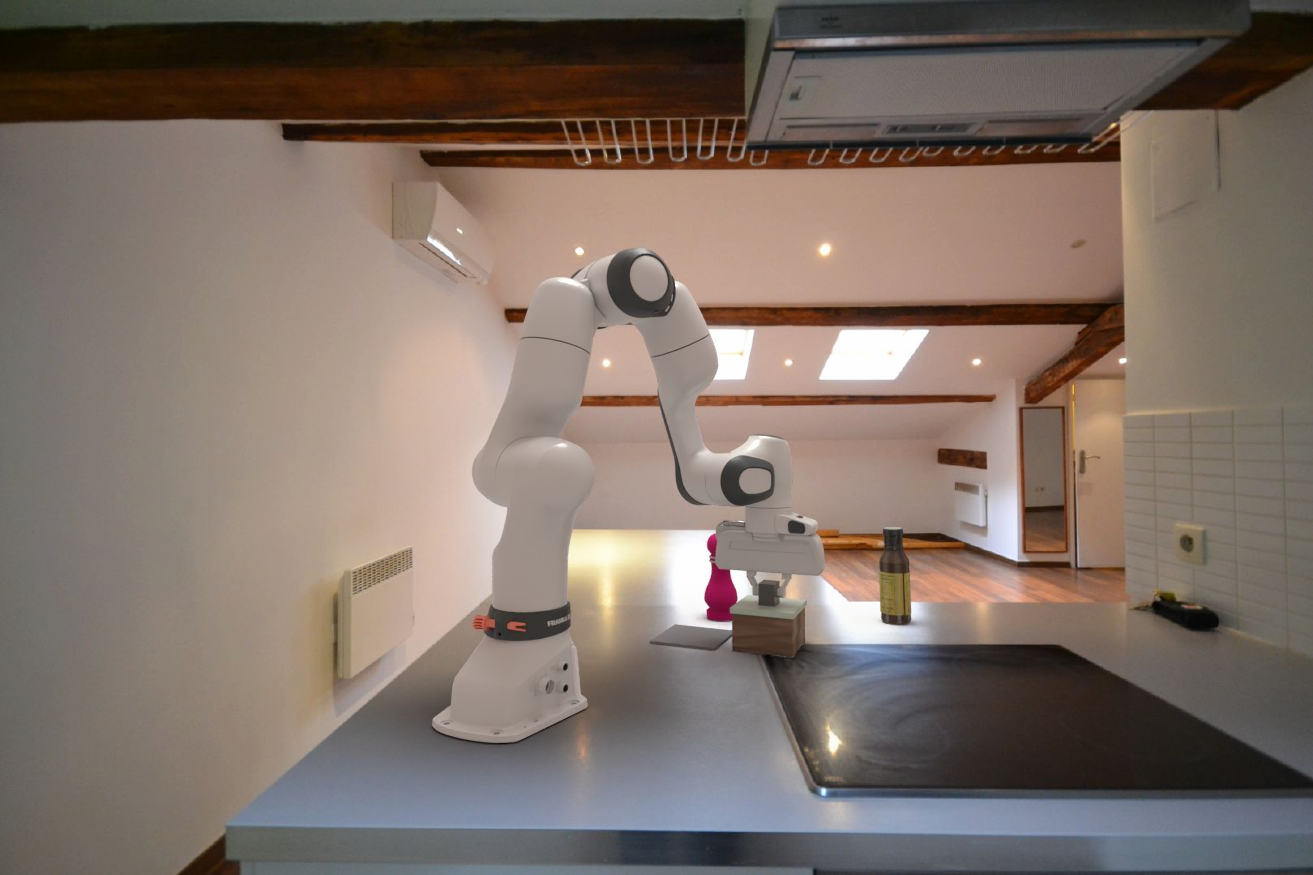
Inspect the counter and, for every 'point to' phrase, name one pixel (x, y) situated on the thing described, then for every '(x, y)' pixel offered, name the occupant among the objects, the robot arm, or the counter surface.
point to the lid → (768, 603)
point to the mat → (693, 637)
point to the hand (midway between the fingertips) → (769, 596)
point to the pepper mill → (719, 588)
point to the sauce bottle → (894, 579)
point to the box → (768, 634)
